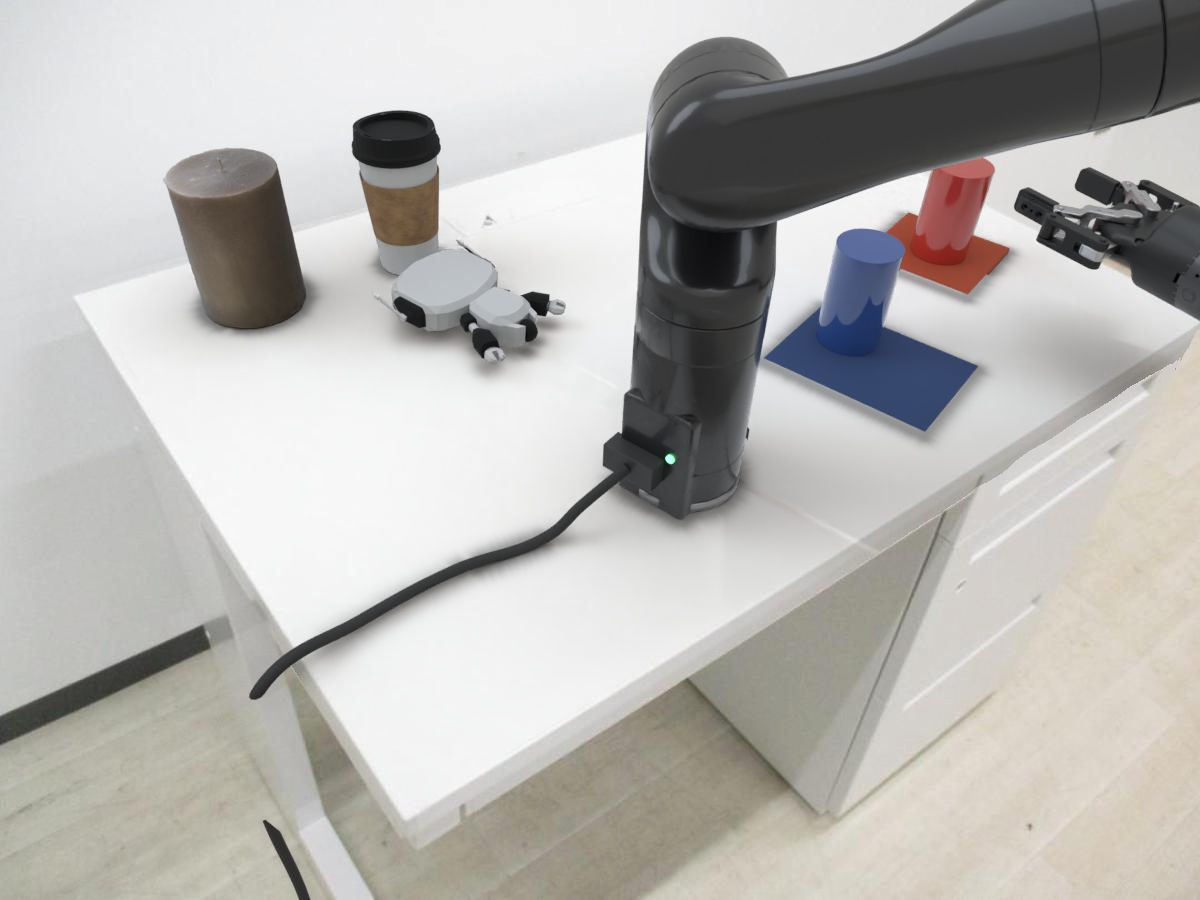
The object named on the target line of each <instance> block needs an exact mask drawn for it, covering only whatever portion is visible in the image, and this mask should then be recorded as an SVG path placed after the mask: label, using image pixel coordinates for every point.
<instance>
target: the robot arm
mask: <svg viewBox="0 0 1200 900" xmlns="http://www.w3.org/2000/svg"><path fill="white" fill-rule="evenodd" d="M1199 104H1200V0H974V1H973V2H970V3H969V4H968V5H966V6H964V7H963V8H962V9H960V10H959V11H957V12H956V13H954V14H953V15H951V16H950V17H948V18H947V19H945V20H943V21H941V22H940V23H939V24H937V25H935V26H934V27H932V28H930V29H928V30H927V31H925V32H924V33H922V34H921V35H918V36H917V37H915V38H914V39H912V40H910V41H908V42H906V43H903V44H901V45H899V46H898V47H896V48H893V49H890V50H888V51H885V52H882V53H880V54H878V55H875V56H871V57H869V58H865V59H862V60H858V61H855V62H851V63H847V64H843V65H839V66H835V67H831V68H826V69H823V70H818V71H814V72H813V71H812V72H810V73H809V72H808V73H804V74H799V75H794V76H790V77H789V75H788V74H787V72H786V70H785V69H784V67H783V66H782V64H781V63H780V62H779V60H778V59H777V58H776V57H775V56H774V55H773V54H772V53H771V52H770V51H768V50H767V49H765V48H764V47H763V46H761V45H759V44H757V43H755V42H753V41H750V40H748V39H746V38H741V37H735V36H716V37H711V38H710V37H709V38H706V39H703V40H700V41H698V42H696V43H694V44H691V45H690V46H688V47H686V48H685V49H683V50H682V51H681V52H679V53H678V54H677V55H675V57H673V59H671V60H670V61H669V62H668V64H667V65H666V66H665V67H664V69H663V70H662V71H661V73H660V74H659V76H658V78H657V80H656V82H655V84H654V85H653V89H652V91H651V94H650V98H649V103H648V108H647V115H646V116H647V118H646V129H645V145H644V160H643V161H644V162H643V177H642V178H643V179H642V192H641V193H642V196H641V197H642V198H641V210H640V222H639V240H638V241H639V242H638V262H637V263H638V264H637V265H638V266H637V285H636V288H637V289H636V300H635V315H634V316H635V317H634V325H633V327H634V328H633V341H632V357H631V372H630V385H629V386H630V387H629V389H628V391H626V392H625V393H624V395H623V405H622V421H621V422H622V423H621V432H619V431H617V432H616V433H615V434H614V435H612V436H611V437H610V438H609V439H607V440H606V441H605V442H604V443H603V447H602V448H603V449H602V467H604V468H606V469H607V470H609V471H610V472H612V473H610V474H609V475H608V476H606V477H605V478H604V479H603V480H602V481H600V482H599V483H597V485H596V486H594V487H593V488H592V489H590V490H589V491H588V492H587V493H586V494H584V496H582V497H581V498H580V499H578V500H577V501H576V503H574V504H573V505H572V506H571V507H570V508H569V509H567V511H566V512H565V513H564V514H563V516H561V517H560V518H559V520H557V522H556V523H554V524H553V525H552V526H550V527H549V528H548V529H546V530H544V531H543V532H541V533H539V534H538V535H535V536H533V537H532V538H529V539H526V540H524V541H521V542H519V543H516V544H513V545H510V546H507V547H503V548H500V549H497V550H492V551H489V552H485V553H482V554H479V555H475V556H473V557H469V558H467V559H463V560H461V561H459V562H456V563H454V564H452V565H450V566H447V567H444V568H443V569H440V570H439V571H436V572H434V573H431V574H430V575H427V576H426V577H424V578H421V579H420V580H418V581H416V582H413V583H412V584H410V585H409V586H406V587H405V588H403V589H400V590H399V591H398V592H396V593H394V594H392V595H390V596H388V597H387V598H384V599H383V600H381V601H380V602H378V603H376V604H375V605H373V606H371V607H369V608H367V609H366V610H364V611H362V612H361V613H359V614H357V615H356V616H354V617H352V618H349V619H347V620H346V621H344V622H342V623H339V624H338V625H336V626H334V627H332V628H330V629H328V630H326V631H323V632H321V633H320V634H317V635H315V636H313V637H311V638H309V639H307V640H305V641H303V642H302V643H300V644H298V645H297V646H295V647H292V649H290V650H289V651H287V652H285V653H284V654H283V655H282V656H280V657H279V658H278V659H277V660H276V661H274V662H273V663H272V664H271V665H270V666H269V667H268V668H267V669H266V670H265V671H264V673H262V674H261V676H260V677H259V678H258V680H257V681H256V682H255V684H254V685H253V686H252V688H251V690H250V691H249V695H248V698H249V699H250V700H251V701H257V700H259V699H261V698H263V697H264V695H265V694H266V693H267V691H268V690H269V689H270V687H271V686H272V685H273V684H274V682H275V681H276V680H277V679H278V678H279V677H280V676H281V675H282V674H283V673H284V672H285V671H287V670H288V669H289V668H290V667H291V666H293V665H294V664H296V663H297V662H298V661H300V660H302V659H303V658H305V657H306V656H308V655H310V654H312V653H314V652H316V651H317V650H319V649H321V648H324V647H326V646H327V645H330V644H332V643H334V642H336V641H338V640H340V639H342V638H344V637H347V636H348V635H350V634H352V633H354V632H356V631H358V630H359V629H361V628H362V627H364V626H366V625H368V624H370V623H371V622H373V621H375V620H376V619H378V618H380V617H381V616H383V615H386V613H389V612H390V611H392V610H393V609H396V608H398V607H399V606H401V605H402V604H404V603H406V602H408V601H410V600H411V599H413V598H415V597H418V595H419V596H420V595H421V594H423V593H424V592H426V591H428V590H430V589H432V588H435V587H436V586H438V585H441V584H443V583H445V582H447V581H450V580H452V579H453V578H455V577H457V576H460V575H463V574H465V573H467V572H470V571H473V570H476V569H479V568H481V567H485V566H488V565H491V564H495V563H500V562H502V561H506V560H510V559H513V558H516V557H519V556H522V555H524V554H527V553H530V552H533V551H535V550H537V549H538V548H541V547H543V546H544V545H546V544H548V543H550V542H551V541H553V540H555V539H556V538H558V537H559V536H560V535H561V534H563V533H564V532H565V531H566V530H567V529H568V528H569V527H570V526H571V525H572V524H573V523H574V521H576V520H577V518H578V517H579V516H581V515H582V513H583V512H585V511H586V510H587V509H588V508H589V507H590V506H592V505H593V504H594V503H595V502H596V501H598V500H599V499H600V498H601V497H603V496H604V495H605V494H606V493H608V492H609V491H610V490H611V489H613V488H614V487H615V486H616V485H617V484H618V485H619V486H620V487H622V488H624V489H625V490H627V491H629V492H631V493H632V494H634V495H636V496H637V497H639V498H641V499H642V500H644V501H645V502H647V503H648V504H651V505H653V506H655V507H657V508H658V509H660V510H662V511H664V512H666V513H667V514H669V515H671V516H672V517H674V518H676V519H679V520H682V519H684V518H685V517H686V516H687V515H688V514H690V513H694V512H695V513H696V512H703V511H706V510H710V509H713V508H716V507H717V506H720V505H721V504H723V503H725V502H726V501H727V500H729V499H730V498H731V497H732V496H733V494H735V492H736V490H737V489H738V486H739V483H740V479H741V473H742V466H741V465H742V460H743V454H744V449H745V443H746V441H748V440H749V435H750V428H749V422H750V416H751V410H752V405H753V399H754V394H755V389H756V383H757V379H758V373H759V367H760V361H761V355H762V349H763V344H764V339H765V334H766V329H767V324H768V318H769V312H770V306H771V301H772V296H773V291H774V286H775V281H776V280H775V279H776V272H777V271H776V270H777V235H778V234H777V232H778V222H779V221H782V220H785V219H788V218H792V217H794V216H797V215H799V214H801V213H804V212H807V211H811V210H813V209H816V208H819V207H822V206H824V205H827V204H830V203H833V202H837V201H838V200H841V199H844V198H848V197H850V196H853V195H856V194H858V193H860V192H863V191H866V190H869V189H872V188H875V187H878V186H881V185H884V184H888V183H890V182H893V181H897V180H901V179H903V178H907V177H910V176H915V175H918V174H923V173H927V172H931V170H935V169H939V168H943V167H948V166H952V165H956V164H960V163H964V162H968V161H971V160H975V159H980V158H987V157H990V156H994V155H999V154H1002V153H1005V152H1009V151H1013V150H1017V149H1020V148H1025V147H1028V146H1031V145H1036V144H1043V143H1047V142H1051V141H1055V140H1060V139H1065V138H1071V137H1075V136H1081V135H1085V134H1090V133H1093V132H1097V131H1102V130H1105V129H1109V128H1114V127H1117V126H1122V125H1126V124H1130V123H1134V122H1138V121H1141V120H1147V119H1148V118H1149V119H1150V118H1152V117H1156V116H1159V115H1163V114H1166V113H1169V112H1173V111H1177V110H1179V109H1183V108H1187V107H1191V106H1194V105H1199ZM1074 189H1075V191H1077V192H1078V193H1080V194H1082V195H1085V196H1086V197H1089V198H1090V199H1092V200H1094V201H1096V202H1098V203H1100V204H1102V205H1104V206H1110V207H1103V206H1098V205H1092V204H1086V205H1084V206H1083V207H1081V208H1078V207H1073V206H1068V205H1063V204H1060V202H1059V201H1057V200H1054V199H1053V198H1051V197H1049V196H1047V195H1045V194H1043V193H1041V192H1039V191H1037V190H1036V189H1034V188H1032V187H1029V186H1027V187H1024V188H1021V189H1020V190H1019V191H1018V193H1017V195H1016V199H1015V201H1014V203H1013V209H1014V211H1015V212H1016V213H1018V214H1020V215H1022V216H1024V217H1026V218H1027V219H1028V220H1030V221H1033V222H1034V223H1036V224H1038V225H1040V229H1039V231H1038V234H1037V236H1036V238H1035V241H1036V242H1037V243H1039V244H1040V245H1043V246H1044V247H1046V248H1048V249H1050V250H1052V251H1054V252H1056V253H1057V254H1060V255H1062V256H1064V257H1066V258H1068V259H1069V260H1071V261H1072V262H1075V263H1077V264H1079V265H1081V266H1083V267H1085V268H1086V269H1089V270H1092V271H1094V270H1099V269H1100V267H1101V265H1102V262H1103V261H1104V260H1105V259H1106V258H1112V259H1115V260H1118V261H1121V262H1124V263H1127V264H1128V266H1129V268H1130V272H1131V274H1130V277H1131V281H1132V283H1133V284H1134V286H1136V287H1138V288H1139V289H1140V290H1143V291H1145V292H1147V293H1149V294H1150V295H1152V296H1154V297H1156V298H1157V299H1159V300H1160V301H1163V302H1164V303H1166V304H1169V305H1170V306H1172V307H1174V308H1175V309H1177V310H1179V311H1181V312H1183V313H1184V314H1186V315H1188V316H1190V317H1192V318H1193V319H1195V320H1197V321H1199V322H1200V205H1198V204H1196V203H1195V202H1193V201H1192V200H1189V199H1187V198H1185V197H1183V196H1181V195H1179V194H1177V193H1176V192H1173V191H1171V190H1170V189H1167V188H1165V187H1164V186H1161V185H1160V184H1158V183H1156V182H1153V181H1152V180H1149V179H1140V180H1139V182H1138V184H1135V183H1134V182H1133V181H1130V180H1123V181H1119V180H1118V179H1115V178H1114V177H1111V176H1109V175H1107V174H1105V173H1104V172H1102V171H1099V170H1097V169H1095V168H1092V166H1091V167H1090V166H1088V167H1085V168H1082V169H1080V171H1079V173H1078V175H1077V178H1076V181H1075V183H1074ZM1150 195H1151V196H1154V197H1156V202H1155V201H1154V200H1153V199H1152V198H1151V196H1150ZM1070 219H1072V220H1077V222H1075V221H1072V220H1070ZM1092 220H1094V222H1093V224H1092V226H1091V229H1089V228H1088V227H1089V225H1090V223H1091V221H1092ZM1061 239H1063V240H1061ZM262 823H263V826H264V829H265V831H266V833H267V835H268V837H269V839H270V841H271V844H272V845H273V848H274V850H275V852H276V854H277V856H278V858H279V859H280V861H281V863H282V865H283V867H284V869H285V871H286V873H287V876H288V877H289V880H290V882H291V884H292V886H293V888H294V891H295V893H296V895H297V899H298V900H311V896H310V894H309V891H308V888H307V886H306V884H305V881H304V879H303V877H302V876H303V875H302V874H301V872H300V869H299V867H298V865H297V863H296V861H295V859H294V857H293V855H292V853H291V851H290V849H289V847H288V845H287V843H286V840H285V838H284V837H283V834H282V832H281V830H279V829H278V828H276V827H275V826H274V825H273V824H272V823H271V822H269V821H268V820H267V819H263V820H262Z"/></svg>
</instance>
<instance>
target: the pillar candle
mask: <svg viewBox="0 0 1200 900" xmlns="http://www.w3.org/2000/svg"><path fill="white" fill-rule="evenodd" d="M162 181H163V183H164V184H165V185H166V189H167V191H168V195H169V199H170V202H171V205H172V208H173V212H174V214H175V217H176V218H175V219H176V221H177V224H178V228H179V232H180V236H181V237H182V241H183V246H184V249H185V252H186V256H187V260H188V263H189V265H190V268H191V271H192V274H193V277H194V280H195V285H196V287H197V291H198V292H199V296H200V298H201V299H200V300H201V302H202V303H201V304H202V306H203V309H204V312H205V314H206V316H208V318H209V319H210V320H211V321H213V322H215V323H216V324H219V325H222V326H223V327H229V328H239V329H259V328H265V327H268V326H271V325H272V326H273V325H276V324H278V323H280V322H282V321H285V320H287V319H288V318H290V317H291V316H293V315H294V314H296V313H297V312H299V310H301V309H302V307H303V306H304V303H305V300H306V299H307V292H306V286H305V282H304V277H303V272H302V268H301V267H302V266H301V264H300V259H299V255H298V250H297V247H296V246H297V245H296V241H295V236H294V232H293V229H292V224H291V220H290V215H289V210H288V207H287V202H286V199H285V194H284V193H285V192H284V188H283V184H282V180H281V174H280V171H279V166H278V163H277V162H276V160H275V158H273V157H272V156H271V155H269V154H267V153H265V152H264V151H259V150H255V149H252V148H251V149H250V148H243V147H223V148H215V149H214V148H213V149H208V150H207V151H205V150H204V151H203V152H200V153H197V154H193V155H190V156H189V157H188V156H187V157H185V158H183V159H181V160H180V161H178V162H177V163H176V164H174V165H172V166H171V167H170V168H169V169H168V171H166V173H165V176H164V177H162Z"/></svg>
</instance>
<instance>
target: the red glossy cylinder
mask: <svg viewBox="0 0 1200 900" xmlns="http://www.w3.org/2000/svg"><path fill="white" fill-rule="evenodd" d="M995 173H996V167H995V165H994V164H993V163H992V162H991V161H989V159H987V158H986V157H983V158H980V159H975V160H971V161H968V162H964V163H960V164H956V165H952V166H948V167H943V168H939V169H935V170H930V174H929V178H928V181H927V184H926V188H925V191H924V195H923V198H922V202H921V206H920V208H919V212H918V215H917V216H918V219H917V222H916V226H915V229H914V233H913V236H912V240H911V243H910V249H911V251H912V253H913V254H914V255H915V256H917V257H918V258H920V259H922V260H924V261H926V262H929V263H933V264H937V265H955V264H958V263H961V262H962V261H964V260H965V258H966V256H967V253H968V250H969V247H970V244H971V241H972V238H973V235H974V236H975V232H976V229H977V226H978V223H979V221H980V217H981V214H982V211H983V209H984V205H985V203H986V199H987V197H988V194H989V190H990V188H991V185H992V181H993V178H994V175H995Z"/></svg>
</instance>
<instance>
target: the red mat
mask: <svg viewBox="0 0 1200 900" xmlns="http://www.w3.org/2000/svg"><path fill="white" fill-rule="evenodd" d="M917 219H918V215H917V214H914V213H911V212H907V213H906V214H905V215H904V216H903V217H902V218H900V219H899V220H898V221H897V222H895V224H894V225H893V226H891V227H890V228H889V229H888V230H886V232H885V233H888V234H890V235H892V236H894V237H895V238H897V239H898V240H899V241H900V242H901V243H902V244H903V245H904V248H905V254H904V258H903V261H902V265H901V268H900V270H902V271H905V272H908V273H910V274H912V275H916V276H918V277H920V278H924V279H927V280H929V281H932V282H934V283H936V284H939V285H942V286H944V287H947V288H950V289H952V290H956V291H957V292H960V293H963V294H965V295H969V294H970V293H971V292H972V291H973V289H974V288H976V286H977V285H978V284H979V283H980V281H981V280H982V279H983V278H984V277H985V276H986V275H987V276H988V275H989V274H990V273H991V272H992V271H993V270H994V269H995V268H996V267H997V266H998V265H999V264H1000V262H1001V261H1002V260H1003V259H1004V258H1005V257H1006V256H1007V255H1008V253H1010V250H1011V248H1010V247H1008V246H1005V245H1002V244H1000V243H996V242H994V241H991V240H989V239H985V238H983V237H979V236H977V235H975V234H974V235H973V238H972V241H971V244H970V247H969V250H968V253H967V256H966V258H965V260H964V261H962V262H961V263H958V264H955V265H937V264H933V263H929V262H926V261H924V260H922V259H920V258H918V257H917V256H915V255H914V254H913V253H912V251H911V249H910V243H911V240H912V236H913V233H914V229H915V226H916V222H917Z"/></svg>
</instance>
